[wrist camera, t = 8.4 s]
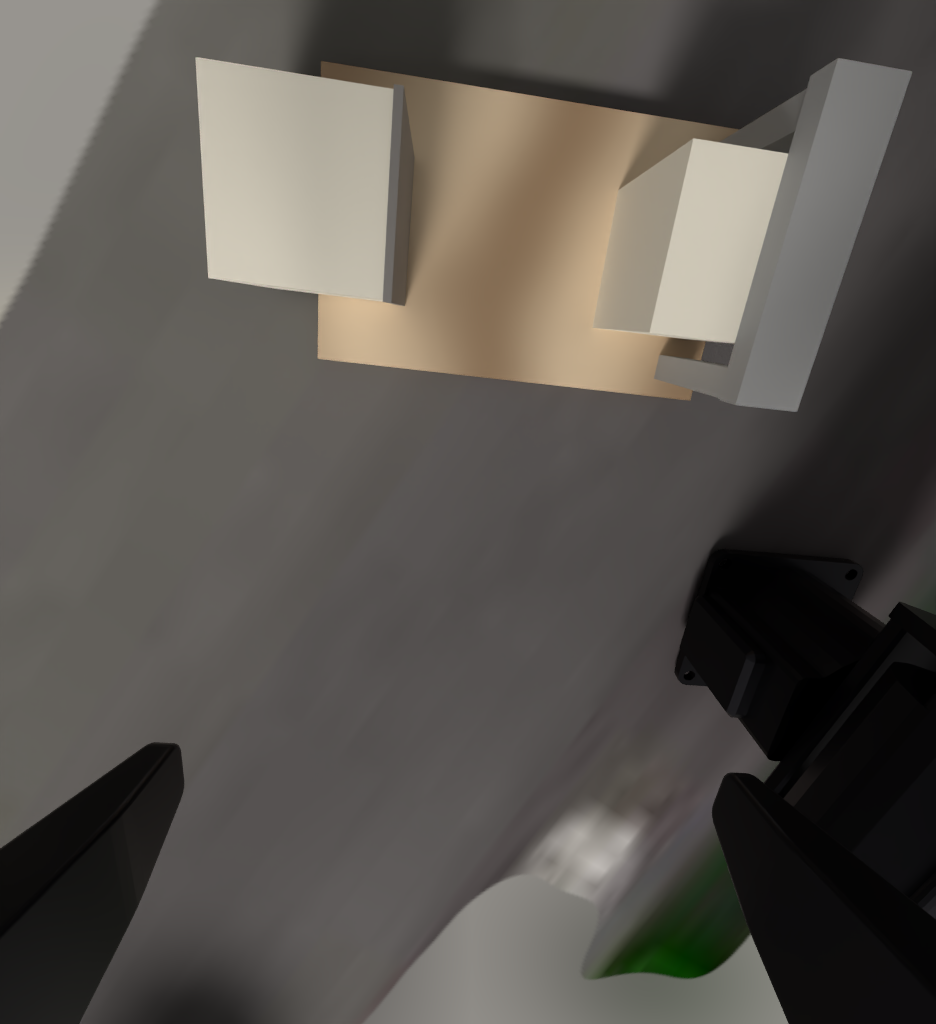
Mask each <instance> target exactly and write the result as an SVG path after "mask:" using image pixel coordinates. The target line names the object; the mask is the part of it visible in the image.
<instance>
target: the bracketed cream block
mask: <svg viewBox="0 0 936 1024" xmlns="http://www.w3.org/2000/svg"><path fill="white" fill-rule="evenodd" d="M912 72H913V71H907V70H902V69H896V68H891V67H885V66H880V65H874V64H869V63H863V62H858V61H852V60H847V59H841V58H837V59H836V60H834V61H833V62H831V63H830V64H828V65H826V66H825V67H823V68H822V69H820V70H819V71H817V72H816V73H814V74H812V75H811V76H810V80H809V83H808V87H807V89H805V90H803V91H802V92H800V93H799V94H797V95H795V96H794V97H792V98H790V99H789V100H787V101H785V102H784V103H782V104H781V105H779V106H777V107H776V108H774V109H772V110H771V111H769V112H768V113H766V114H764V115H763V116H761V117H759V118H758V119H756V120H755V121H753V122H751V123H750V124H748V125H746V126H745V127H743V128H741V129H740V130H738V131H737V132H735V133H733V134H732V135H730V136H728V137H727V138H725V139H724V140H722V141H720V142H713V141H707V140H701V139H695V138H693V139H692V140H690V141H689V142H687V143H686V144H685V145H683V146H682V147H680V148H679V149H677V150H676V151H674V152H673V153H672V154H670V155H669V156H667V157H666V158H664V159H663V160H661V161H660V162H658V163H657V164H656V165H654V166H653V167H651V168H650V169H648V170H647V171H645V172H644V173H643V174H641V175H640V176H638V177H637V178H635V179H634V180H632V181H631V182H630V183H628V184H627V185H625V186H624V187H622V188H621V189H619V190H618V194H617V199H616V204H615V210H614V215H613V220H612V226H611V231H610V236H609V241H608V247H607V252H606V257H605V263H604V268H603V273H602V279H601V284H600V289H599V295H598V300H597V305H596V310H595V316H594V321H593V326H592V328H599V329H607V330H615V331H623V332H631V333H640V334H648V335H656V336H664V337H672V338H680V339H688V340H697V341H707V342H717V343H727V344H734V347H733V351H732V354H731V358H730V361H729V365H723V364H718V363H712V362H706V361H701V360H695V359H689V358H682V357H673V356H665V355H659V359H658V363H657V367H656V371H655V375H654V379H657V380H660V381H664V382H667V383H670V384H674V385H677V386H680V387H684V388H687V389H690V390H694V391H697V392H701V393H704V394H707V395H711V396H714V397H717V398H719V400H721V401H724V402H727V403H730V404H734V405H740V406H748V407H757V408H766V409H775V410H784V411H793V412H797V410H798V407H799V404H800V401H801V398H802V395H803V392H804V389H805V386H806V383H807V381H808V378H809V375H810V372H811V369H812V366H813V363H814V360H815V357H816V354H817V351H818V348H819V345H820V342H821V339H822V336H823V333H824V331H825V328H826V325H827V322H828V319H829V316H830V313H831V310H832V307H833V304H834V301H835V298H836V295H837V292H838V289H839V286H840V283H841V280H842V278H843V275H844V272H845V269H846V266H847V263H848V260H849V257H850V254H851V251H852V248H853V245H854V242H855V239H856V236H857V233H858V230H859V228H860V225H861V222H862V219H863V216H864V213H865V210H866V207H867V204H868V201H869V198H870V195H871V192H872V189H873V186H874V183H875V180H876V178H877V175H878V172H879V169H880V166H881V163H882V160H883V157H884V154H885V151H886V148H887V145H888V142H889V139H890V136H891V133H892V130H893V127H894V125H895V122H896V119H897V116H898V113H899V110H900V107H901V104H902V101H903V98H904V95H905V92H906V89H907V86H908V83H909V80H910V77H911V75H912Z"/></svg>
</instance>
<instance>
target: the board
mask: <svg viewBox="0 0 936 1024" xmlns="http://www.w3.org/2000/svg"><path fill="white" fill-rule="evenodd" d="M321 77H322V78H329V79H335V80H341V81H347V82H353V83H360V84H366V85H372V86H378V87H384V88H391V89H394V84H397V85H403V86H404V90H405V97H406V104H407V110H408V117H409V124H410V130H411V137H412V143H413V150H414V157H415V159H414V175H413V190H412V205H411V220H410V235H409V250H408V266H407V281H406V296H405V306H399V305H395V304H390V303H386V302H381V301H373V300H364V299H356V298H348V297H340V296H332V295H324V294H319V299H318V359H325V360H334V361H343V362H352V363H361V364H369V365H378V366H387V367H396V368H405V369H414V370H423V371H432V372H441V373H450V374H459V375H468V376H476V377H485V378H494V379H503V380H512V381H521V382H530V383H539V384H548V385H557V386H566V387H574V388H583V389H592V390H601V391H610V392H619V393H628V394H637V395H646V396H655V397H664V398H672V399H681V400H690V399H691V395H692V392H693V390H690V389H687V388H684V387H680V386H677V385H674V384H670V383H667V382H664V381H660V380H657V379H654V375H655V371H656V367H657V363H658V359H659V355H665V356H673V357H682V358H689V359H695V360H701V358H702V354H703V350H704V346H705V342H706V341H697V340H688V339H680V338H672V337H664V336H656V335H648V334H640V333H631V332H623V331H615V330H607V329H599V328H592V326H593V321H594V316H595V310H596V305H597V300H598V295H599V289H600V284H601V279H602V273H603V268H604V263H605V257H606V252H607V247H608V241H609V236H610V231H611V226H612V220H613V215H614V210H615V204H616V199H617V194H618V190H619V189H621V188H622V187H624V186H625V185H627V184H628V183H630V182H631V181H632V180H634V179H635V178H637V177H638V176H640V175H641V174H643V173H644V172H645V171H647V170H648V169H650V168H651V167H653V166H654V165H656V164H657V163H658V162H660V161H661V160H663V159H664V158H666V157H667V156H669V155H670V154H672V153H673V152H674V151H676V150H677V149H679V148H680V147H682V146H683V145H685V144H686V143H687V142H689V141H690V140H692V139H693V138H695V139H701V140H707V141H713V142H720V141H722V140H724V139H725V138H727V137H728V136H730V135H732V134H733V133H735V132H737V131H738V130H739V129H733V128H727V127H721V126H715V125H708V124H702V123H696V122H690V121H684V120H678V119H672V118H666V117H660V116H654V115H648V114H641V113H635V112H629V111H623V110H617V109H611V108H605V107H599V106H593V105H587V104H581V103H574V102H568V101H562V100H556V99H550V98H544V97H538V96H532V95H526V94H520V93H514V92H507V91H501V90H495V89H489V88H483V87H477V86H471V85H465V84H459V83H453V82H447V81H440V80H434V79H428V78H422V77H416V76H410V75H404V74H398V73H392V72H386V71H380V70H373V69H367V68H361V67H355V66H349V65H343V64H337V63H331V62H325V61H321Z"/></svg>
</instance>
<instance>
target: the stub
mask: <svg viewBox="0 0 936 1024" xmlns="http://www.w3.org/2000/svg"><path fill="white" fill-rule="evenodd" d="M196 74H197V91H198V108H199V125H200V142H201V159H202V176H203V193H204V210H205V227H206V244H207V261H208V278H212V279H219V280H225V281H231V282H238V283H244V284H250V285H256V286H263V287H269V288H275V289H283V290H292V291H300V292H308V293H316V294H324V295H332V296H340V297H348V298H356V299H364V300H373V301H381V302H386V303H390V304H395V305H399V306H405V296H406V281H407V266H408V250H409V235H410V220H411V205H412V190H413V175H414V159H415V157H414V150H413V143H412V137H411V130H410V124H409V117H408V110H407V104H406V97H405V90H404V86H403V85H397V84H394V89H391V88H384V87H378V86H372V85H366V84H360V83H353V82H347V81H341V80H335V79H329V78H322V77H316V76H310V75H304V74H298V73H291V72H285V71H279V70H273V69H267V68H260V67H254V66H248V65H242V64H236V63H229V62H223V61H217V60H211V59H205V58H198V57H196Z"/></svg>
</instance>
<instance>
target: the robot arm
mask: <svg viewBox="0 0 936 1024" xmlns="http://www.w3.org/2000/svg"><path fill="white" fill-rule="evenodd" d="M724 559H727V560H726V562H725V564H723V565H720V566H719V564H720V562H721V561H722V560H724ZM849 570H850V571H849ZM848 571H849V573H848V574H846V573H847V572H848ZM845 574H846V575H845ZM862 575H863V568H862V567H861V566H860V565H859V564H857V563H855V562H853V561H851V560H846V559H834V558H822V557H811V556H799V555H787V554H775V553H763V552H752V551H740V550H728V549H720V550H717V551H715V552H714V553H713V554H712V555H711V556H710V558H709V561H708V564H707V567H706V570H705V574H704V577H703V580H702V583H701V586H700V590H699V593H698V596H697V598H696V599H695V600H694V603H693V606H692V609H691V612H690V616H689V619H688V622H687V625H686V628H685V632H684V635H683V638H682V641H681V645H680V649H681V651H680V654H679V657H678V660H677V664H676V667H675V675H676V677H677V678H678V680H679V681H680V682H681V683H682V684H685V685H697V686H708V688H709V689H710V690H711V692H712V693H713V695H714V696H715V697H716V699H717V700H718V702H719V703H720V704H721V706H722V707H723V708H724V710H725V711H726V712H727V714H728V715H729V716H730V717H735V718H738V719H739V720H740V721H741V723H742V724H743V725H744V727H745V728H746V729H747V731H748V732H749V733H750V735H751V736H752V737H753V739H754V740H755V741H756V743H757V744H758V745H759V747H760V748H761V749H762V751H763V752H764V754H765V755H766V756H767V758H768V759H769V760H772V761H780V763H779V764H778V765H777V766H776V768H775V769H774V770H773V772H772V773H771V774H770V776H769V777H768V778H767V779H766V781H765V782H764V783H763V782H762V781H760V780H759V779H758V778H756V777H755V776H753V775H751V774H747V773H727V774H726V775H725V776H724V778H723V780H722V783H721V785H720V788H719V791H718V793H717V796H716V799H715V801H714V804H713V808H712V818H713V823H714V826H715V829H716V832H717V835H718V838H719V841H720V844H721V847H722V850H723V854H724V857H725V860H726V863H727V866H728V869H729V872H730V875H731V878H732V881H733V884H734V887H735V890H736V893H737V896H738V899H739V902H740V906H741V908H742V911H743V914H744V917H745V920H746V922H747V925H748V928H749V930H750V933H751V935H752V938H753V940H754V942H755V945H756V947H757V950H758V952H759V954H760V957H761V959H762V962H763V964H764V966H765V969H766V971H767V973H768V976H769V978H770V980H771V983H772V985H773V987H774V990H775V992H776V995H777V997H778V999H779V1002H780V1004H781V1006H782V1008H783V1011H784V1014H785V1016H786V1018H787V1021H788V1023H789V1024H936V615H934V614H932V613H929V612H926V611H924V610H921V609H918V608H916V607H913V606H910V605H908V604H905V603H902V602H899V603H898V604H897V605H896V607H895V608H894V609H893V610H892V612H891V613H890V614H889V617H890V618H891V619H890V621H889V622H888V623H887V624H886V625H885V624H884V623H883V622H881V621H880V620H878V619H877V618H875V617H874V616H872V615H871V614H870V613H868V612H867V611H865V610H864V609H862V608H861V607H859V606H858V605H857V604H855V603H854V602H852V599H853V596H854V594H855V592H856V589H857V587H858V585H859V583H860V580H861V578H862ZM688 671H690V672H689V673H688V674H685V673H686V672H688ZM183 790H184V774H183V765H182V756H181V750H180V747H179V745H177V744H175V743H159V742H154V743H150V744H148V745H146V746H144V747H143V748H142V749H140V750H139V751H137V752H136V753H135V754H133V755H132V756H130V757H129V758H127V759H126V760H125V761H123V762H122V763H120V764H119V765H118V766H116V767H115V768H113V769H112V770H111V771H109V772H108V773H106V774H105V775H103V776H102V777H101V778H99V779H98V780H96V781H95V782H94V783H92V784H91V785H89V786H88V787H86V788H85V789H84V790H82V791H81V792H79V793H78V794H77V795H75V796H74V797H72V798H71V799H70V800H68V801H67V802H65V803H64V804H62V805H61V806H60V807H58V808H57V809H55V810H54V811H53V812H51V813H50V814H48V815H47V816H45V817H44V818H43V819H41V820H40V821H38V822H37V823H36V824H34V825H33V826H31V827H30V828H29V829H27V830H26V831H24V832H23V833H21V834H20V835H19V836H17V837H16V838H14V839H13V840H12V841H10V842H9V843H7V844H6V845H5V846H3V847H2V848H0V1024H79V1023H80V1021H81V1019H82V1017H83V1015H84V1013H85V1011H86V1009H87V1007H88V1005H89V1003H90V1001H91V999H92V997H93V995H94V993H95V991H96V989H97V987H98V985H99V983H100V981H101V979H102V977H103V975H104V973H105V972H106V970H107V968H108V966H109V964H110V962H111V960H112V958H113V956H114V954H115V952H116V950H117V948H118V946H119V944H120V942H121V940H122V938H123V936H124V934H125V932H126V930H127V928H128V926H129V924H130V922H131V920H132V918H133V916H134V914H135V911H136V909H137V907H138V905H139V903H140V900H141V898H142V896H143V893H144V891H145V888H146V886H147V883H148V881H149V878H150V876H151V873H152V871H153V868H154V866H155V863H156V861H157V858H158V856H159V853H160V851H161V848H162V846H163V843H164V841H165V838H166V836H167V833H168V830H169V828H170V825H171V823H172V820H173V818H174V815H175V813H176V810H177V808H178V805H179V803H180V800H181V797H182V794H183Z"/></svg>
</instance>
